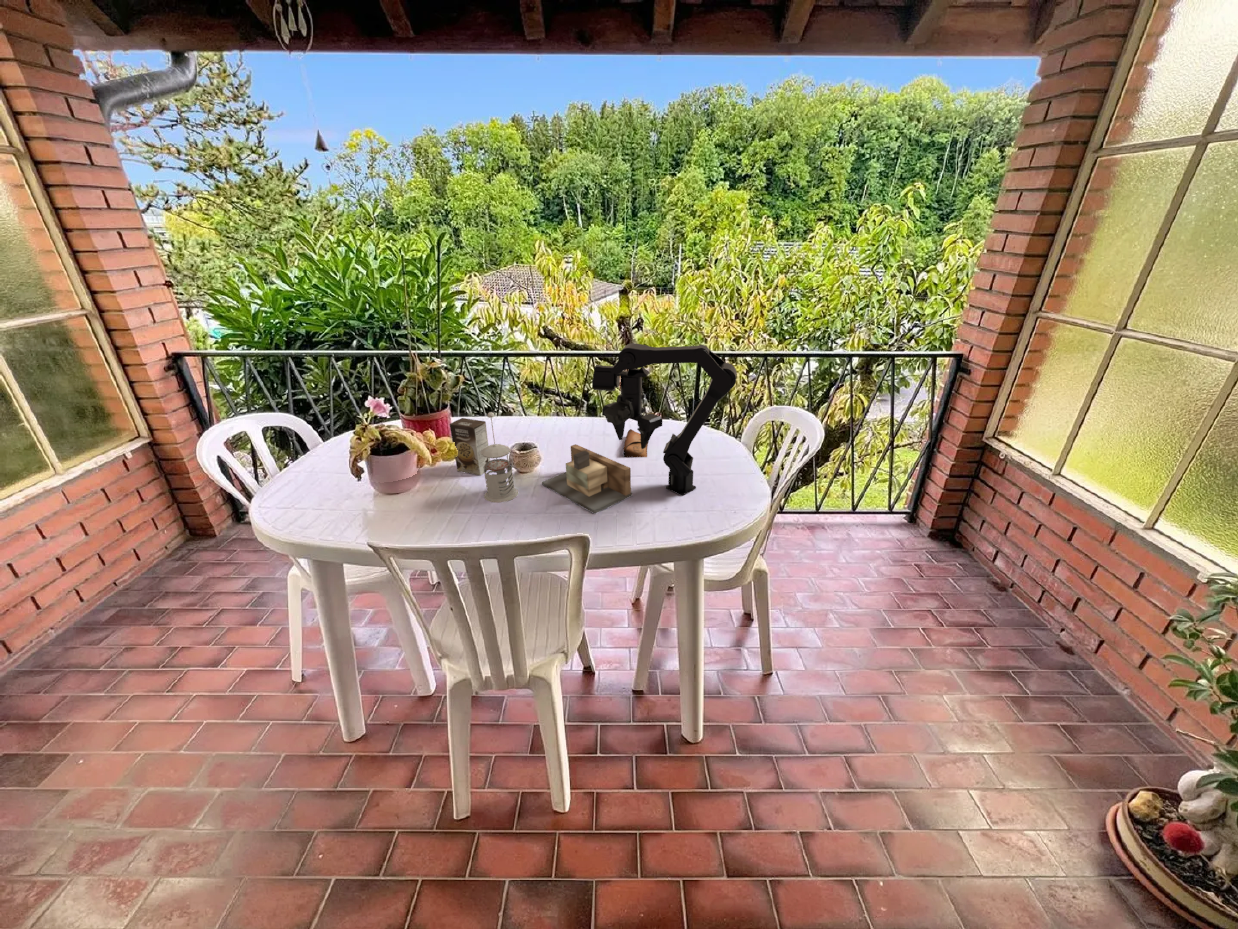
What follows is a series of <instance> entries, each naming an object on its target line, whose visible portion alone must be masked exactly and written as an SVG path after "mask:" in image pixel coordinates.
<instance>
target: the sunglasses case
mask: <svg viewBox="0 0 1238 929" xmlns="http://www.w3.org/2000/svg"><path fill="white" fill-rule="evenodd" d="M648 444H649V442H648V443H647V445H646V447H645V448H644V449H642V448H641V436H640V432H637V431H635V430H633V429H629V430H628V431H627V433H626V436H625V440H624V445H623V448H622V449H623V450H622V455H623V457H624V458H648Z"/></svg>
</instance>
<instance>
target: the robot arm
mask: <svg viewBox="0 0 1238 929" xmlns="http://www.w3.org/2000/svg"><path fill="white" fill-rule="evenodd" d="M617 359H618V361H617V362H616V363H615V364H614V365H602V364H596V365H595V366H594V368H593V370H594V371H593V374H592V380H591V384H592V385H591V386H592V390H594V391H607V392H608V391H610V392H615V391H616V389H617V388H619V387H620V394H618V395H617V397H616V401H614V402H611V403H607V404H605V405H603V407H602V409H601V412H602V413H601V414H602V416H604V417H605V419H606V421H607V423H608V424H609V423H610V424H612V426H613V428H614V431H615V433H616V436H617V438H618V441H621V440H623V438H624V435H625V434H624V433H625V427H626V426H625V425H626V422H627V421H628V420H632V421H636V422H637V427H638V428H637V429H636V430H637V431H638V433H640V436H641V448H642V449H644V448H645V447H646V445H647V443H648V444H649V440H650V439H651V437H652V435H653V433H654V432H655V430H657V429H659V428H660V427H663V418H662V416H661V415H657V414H655V413H648V414H645V415H642V414H643V413H645V410H646V408H644V407H643V406H642V402H643V401H642V400H644V399H645V397H646V394H644V393H642V392H643V391H642V386H643V383H642V381H643V380H642V378H647V377H648V376H649V375H650V371H648V370H647V368H645V367H647V366H650V365H657V364H659V365H660V364H661V365H662V364H691V363H692V364H697V365H699V366H700V367H701V368H702V370H703V371H704V372H705V373H706V374H707V376H708V377H709V378H710V382H709V385H708V387H707V391H706V392H705V394H704V396H703V397H702V398H701V400H700V401H699V403H698V405H697V406H696V409H695V410H694V411H693V413H692V414H691V416H690V417H689V419H688V421H687V423H686V424H685V426H684V427H683V429H682V430H681V432H679V434H678V435H676V434H675V433H672V434H671V437H670V439H669V441H668V442H666V443H665V446H664V449H663V451H662V454H663V456H662V458H663V459H662V460H663V463H664V464H665V466H667V467H668V469H669V471H668V485H666V486H665V489H667V490H668V491H671V492H672V493H675V494H678V495H680V496H685V495H687V494H688V493H690V492H692V491H695V489H697V486H696V485H694V470H693V469H692V466H693V461H694V457H693V456H692V455H691V454H690V453H689V450H690V446H691V445H692V442H693V441H694V439H695V437H696V436H697V435H698V433H699V432H700V430H701V429H702V427H703V425H704V424H705V422H706V421H707V419H708V417H710V414H711V413H712V411H713V410H714V408H715V407H716V405H717V404H718V402H719V401H720V400H722V399H723V398H724V397H725V396H726V395H727V394H728V393H729V392H730V391H732V389H733V388H734V386H735V385H736V382H737V374H738V373H737V369H736V367H735V366H734V365H733V364H732V363H729V362H726V361H724V360H723V359H722V358H721V357H720V356H719V355H717V354H716V353H715V352H713V351H712V350H710V348H709V347H708V346H707V345H704V344H700V345H691V346H689V345H687V346H682V345H681V346H662V347H661V346H660V347H659V346H657V347H656V346H649V345H646V344H642V343H641V344H640V343H635V342H632V343H628V344H627V345H626V344H625V346H624V347H623V348H622V350H620V352H619V353H618V357H617Z"/></svg>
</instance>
